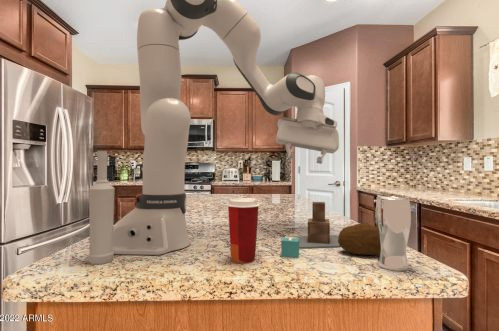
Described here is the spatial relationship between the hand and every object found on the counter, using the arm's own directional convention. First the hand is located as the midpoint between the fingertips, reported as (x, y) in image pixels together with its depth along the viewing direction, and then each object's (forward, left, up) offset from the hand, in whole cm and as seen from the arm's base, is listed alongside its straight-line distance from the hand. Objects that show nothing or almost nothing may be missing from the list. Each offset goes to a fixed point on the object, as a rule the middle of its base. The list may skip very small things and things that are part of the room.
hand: (304, 160), depth 93 cm
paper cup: (-22, -21, -24) cm, 39 cm away
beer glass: (+10, -30, -24) cm, 40 cm away
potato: (+8, -21, -24) cm, 33 cm away
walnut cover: (+1, -8, -23) cm, 25 cm away
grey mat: (+2, -8, -24) cm, 25 cm away
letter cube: (-10, -19, -24) cm, 32 cm away
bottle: (-54, -18, -24) cm, 62 cm away
